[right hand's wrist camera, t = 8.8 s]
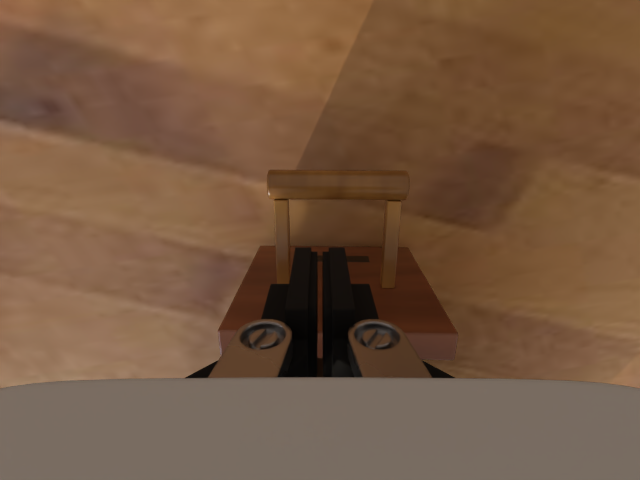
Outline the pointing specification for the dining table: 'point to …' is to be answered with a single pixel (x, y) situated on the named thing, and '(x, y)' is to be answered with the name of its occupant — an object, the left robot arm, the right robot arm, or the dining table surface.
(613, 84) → the dining table surface
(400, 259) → the drawer
